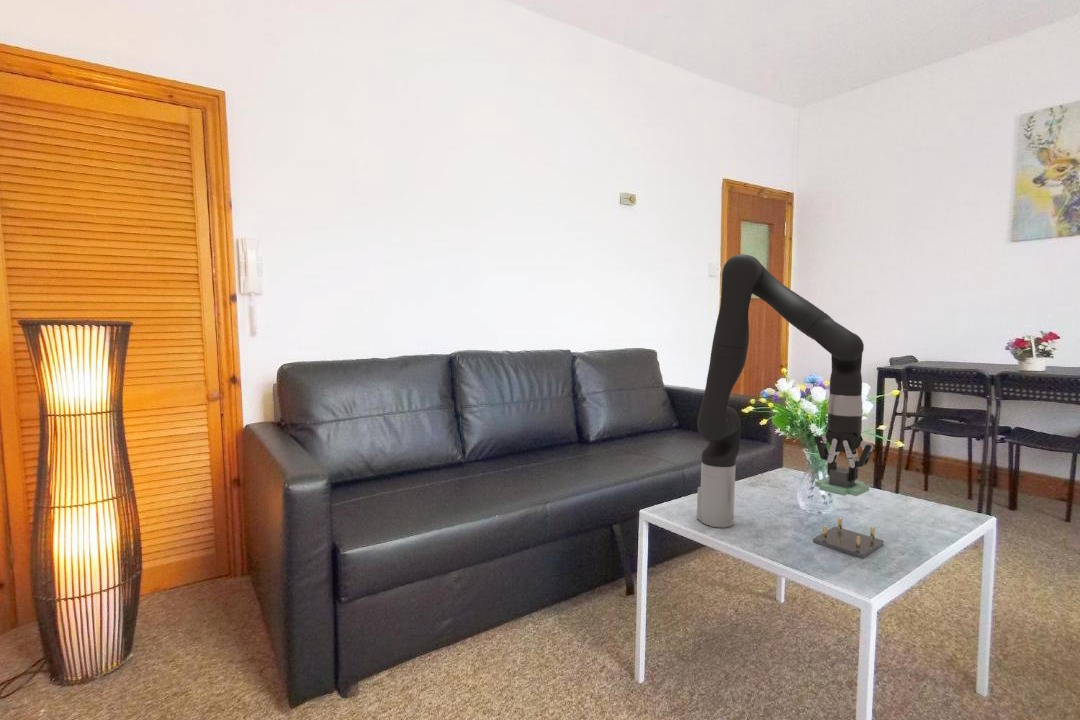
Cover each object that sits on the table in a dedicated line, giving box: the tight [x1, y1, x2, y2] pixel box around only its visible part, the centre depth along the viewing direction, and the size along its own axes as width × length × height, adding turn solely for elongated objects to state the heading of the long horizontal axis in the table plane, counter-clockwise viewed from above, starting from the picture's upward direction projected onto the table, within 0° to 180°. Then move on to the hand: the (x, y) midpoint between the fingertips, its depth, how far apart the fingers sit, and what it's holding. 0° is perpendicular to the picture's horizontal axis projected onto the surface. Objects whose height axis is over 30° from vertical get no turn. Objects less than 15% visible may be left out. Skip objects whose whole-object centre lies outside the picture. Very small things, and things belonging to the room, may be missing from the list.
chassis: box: [812, 517, 885, 559], centre depth 142 cm, size 12×13×4 cm
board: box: [814, 466, 870, 497], centre depth 138 cm, size 10×11×5 cm
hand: (842, 479), depth 138 cm, fingers closed on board, 4 cm apart
